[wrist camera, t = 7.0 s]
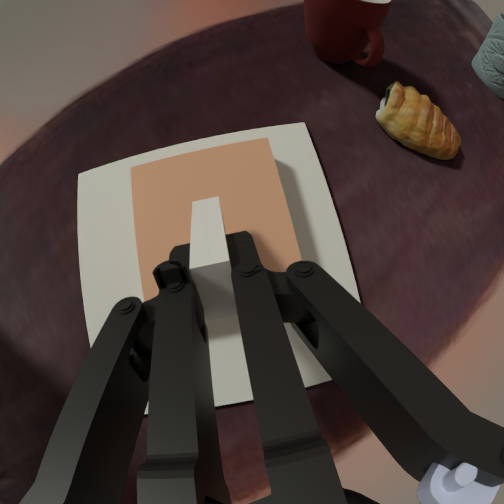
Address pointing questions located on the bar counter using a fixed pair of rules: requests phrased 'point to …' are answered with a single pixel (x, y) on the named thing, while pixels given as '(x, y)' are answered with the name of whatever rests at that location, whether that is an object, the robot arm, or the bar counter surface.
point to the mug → (346, 29)
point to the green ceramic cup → (492, 58)
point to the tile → (207, 186)
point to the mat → (219, 330)
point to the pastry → (417, 122)
